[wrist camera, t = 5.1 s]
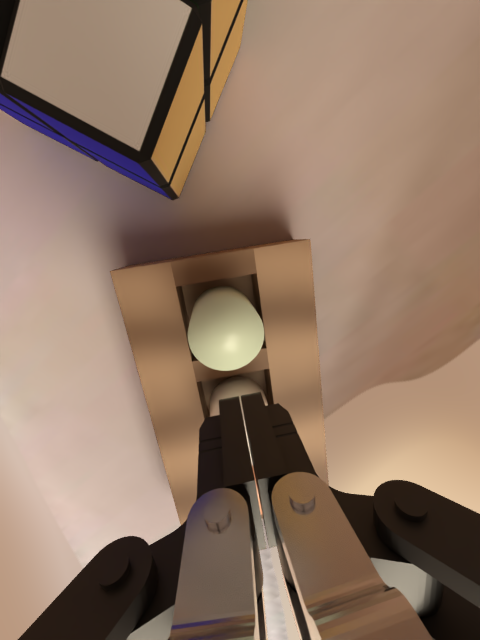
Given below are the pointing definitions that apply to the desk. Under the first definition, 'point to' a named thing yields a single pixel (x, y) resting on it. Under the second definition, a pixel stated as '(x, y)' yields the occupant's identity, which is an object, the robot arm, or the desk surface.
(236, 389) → the cream white egg
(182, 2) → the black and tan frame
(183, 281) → the wooden egg rack
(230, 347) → the pale green piece
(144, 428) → the desk surface
